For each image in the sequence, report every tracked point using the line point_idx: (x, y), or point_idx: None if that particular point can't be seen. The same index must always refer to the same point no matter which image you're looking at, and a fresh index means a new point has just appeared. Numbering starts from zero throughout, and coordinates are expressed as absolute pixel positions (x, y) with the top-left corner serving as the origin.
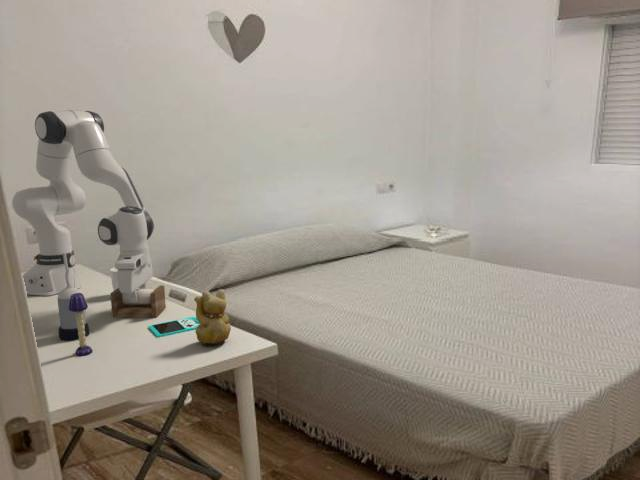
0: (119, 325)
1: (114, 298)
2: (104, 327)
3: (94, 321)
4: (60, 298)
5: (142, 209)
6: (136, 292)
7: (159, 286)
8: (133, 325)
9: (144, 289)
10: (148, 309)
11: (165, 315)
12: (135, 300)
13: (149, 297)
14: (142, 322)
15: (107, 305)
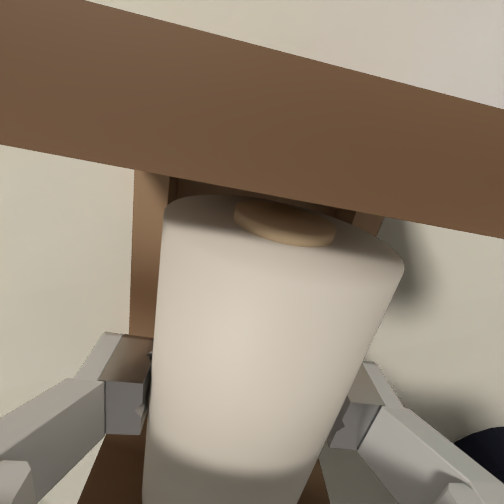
0: (440, 343)
1: None
2: (437, 397)
3: (330, 449)
4: None
5: None
6: (316, 455)
7: (37, 128)
8: (480, 274)
9: (273, 408)
10: (381, 222)
11: (351, 62)
12: (377, 381)
13: (395, 257)
14: (449, 230)
15: (78, 462)
